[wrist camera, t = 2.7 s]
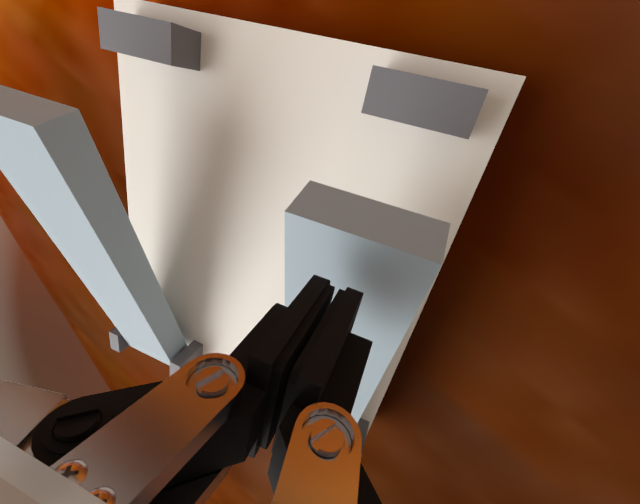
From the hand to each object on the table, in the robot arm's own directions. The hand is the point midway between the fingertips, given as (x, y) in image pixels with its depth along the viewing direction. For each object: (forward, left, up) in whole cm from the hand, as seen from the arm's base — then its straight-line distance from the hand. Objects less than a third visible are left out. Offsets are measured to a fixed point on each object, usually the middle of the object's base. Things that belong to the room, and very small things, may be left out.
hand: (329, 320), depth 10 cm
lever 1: (-7, +16, -6) cm, 18 cm away
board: (-5, +8, -13) cm, 16 cm away
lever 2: (-7, 0, -6) cm, 9 cm away
